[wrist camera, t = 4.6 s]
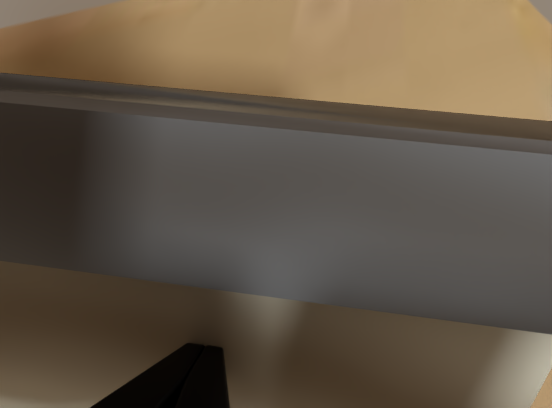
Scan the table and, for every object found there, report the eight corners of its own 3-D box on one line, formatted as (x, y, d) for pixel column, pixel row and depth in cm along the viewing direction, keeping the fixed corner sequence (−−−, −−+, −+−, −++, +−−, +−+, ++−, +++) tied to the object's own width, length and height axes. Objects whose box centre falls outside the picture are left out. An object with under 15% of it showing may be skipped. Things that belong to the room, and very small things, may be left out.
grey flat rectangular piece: (437, 496, 12) (458, 590, 10) (27, 425, 13) (-27, 497, 11) (601, 125, 7) (713, 170, 5) (-101, 63, 8) (-242, 78, 6)
